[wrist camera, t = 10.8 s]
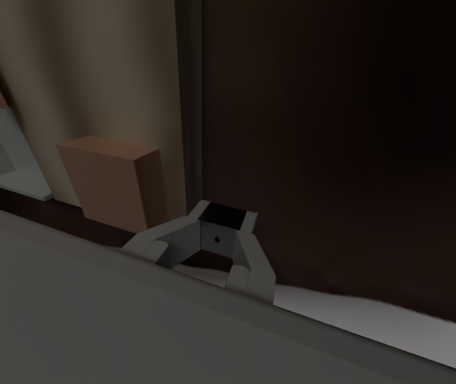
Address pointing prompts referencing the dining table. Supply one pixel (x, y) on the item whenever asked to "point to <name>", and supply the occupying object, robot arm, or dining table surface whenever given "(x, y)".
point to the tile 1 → (3, 101)
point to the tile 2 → (116, 181)
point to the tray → (19, 161)
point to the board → (108, 83)
